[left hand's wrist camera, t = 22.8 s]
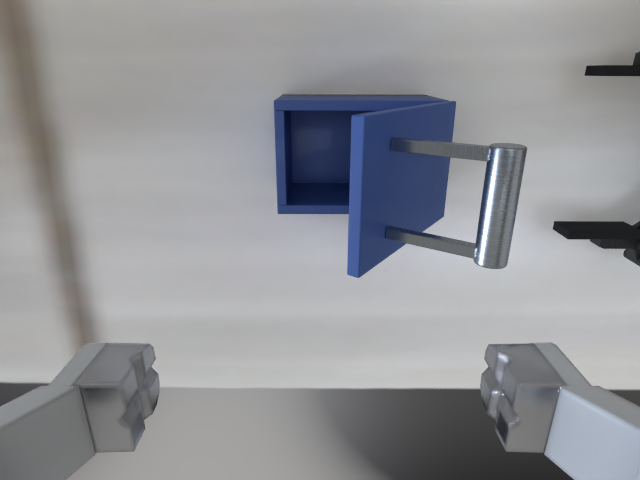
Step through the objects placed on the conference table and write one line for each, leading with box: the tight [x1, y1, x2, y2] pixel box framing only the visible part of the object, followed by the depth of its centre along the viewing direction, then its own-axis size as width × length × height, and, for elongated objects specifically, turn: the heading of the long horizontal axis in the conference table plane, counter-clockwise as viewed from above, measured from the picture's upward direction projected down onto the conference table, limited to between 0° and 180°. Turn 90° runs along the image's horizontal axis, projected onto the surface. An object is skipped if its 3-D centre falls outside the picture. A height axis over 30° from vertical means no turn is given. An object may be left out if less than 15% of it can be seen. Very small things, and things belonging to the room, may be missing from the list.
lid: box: [347, 101, 527, 278], centre depth 28 cm, size 14×9×8 cm
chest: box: [274, 95, 448, 214], centre depth 40 cm, size 14×9×9 cm
